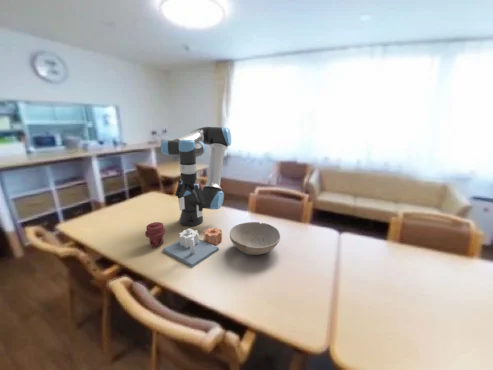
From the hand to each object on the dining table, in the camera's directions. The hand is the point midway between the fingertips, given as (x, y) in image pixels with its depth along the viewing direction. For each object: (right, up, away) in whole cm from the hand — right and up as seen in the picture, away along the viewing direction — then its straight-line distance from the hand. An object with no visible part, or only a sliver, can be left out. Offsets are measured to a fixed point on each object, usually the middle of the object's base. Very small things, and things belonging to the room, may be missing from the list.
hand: (190, 212), depth 120 cm
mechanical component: (-20, -18, +7) cm, 28 cm away
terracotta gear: (+10, -17, +12) cm, 23 cm away
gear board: (0, -20, +2) cm, 20 cm away
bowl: (+33, -20, +4) cm, 38 cm away
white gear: (-2, -17, +6) cm, 18 cm away
